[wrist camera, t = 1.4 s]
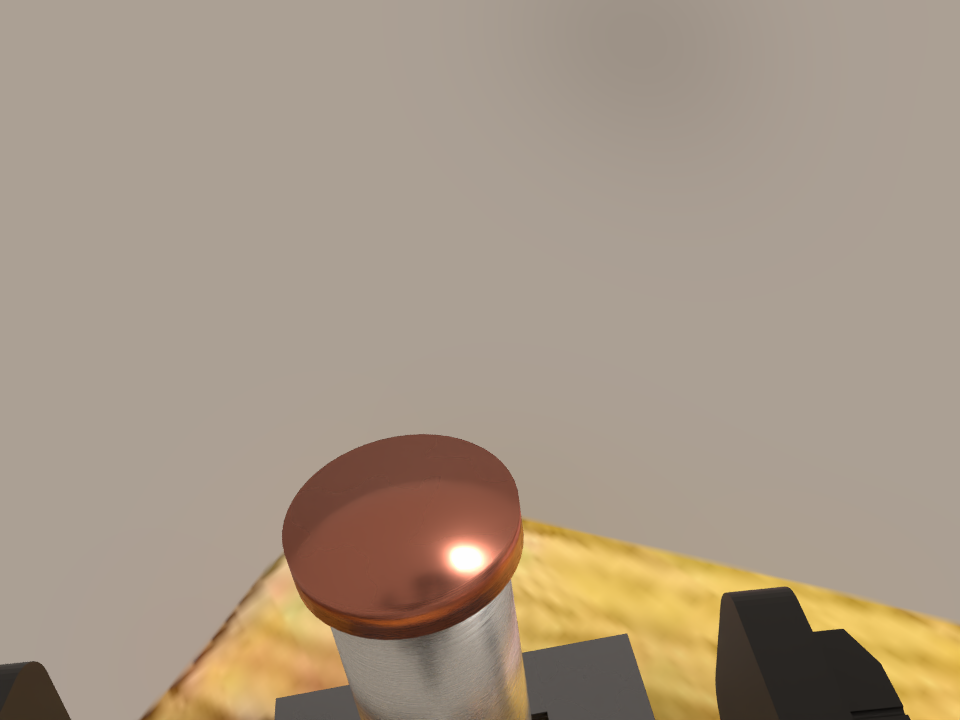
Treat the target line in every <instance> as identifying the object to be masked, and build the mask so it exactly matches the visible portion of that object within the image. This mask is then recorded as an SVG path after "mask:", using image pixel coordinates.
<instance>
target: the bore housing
mask: <svg viewBox="0 0 960 720" xmlns="http://www.w3.org/2000/svg"><path fill="white" fill-rule="evenodd" d="M522 658H523V665H524V671H525V678H526V685H527V692H528V698H529V705H530V712H531V719H532V720H655V718H654V715H653V712H652V709H651V706H650V703H649V700H648V696H647V693H646V690H645V687H644V684H643V681H642V678H641V675H640V672H639V669H638V666H637V662H636V659H635V656H634V653H633V650H632V647H631V644H630V641H629V638H628V635H627V634H622V635H616V636H611V637H606V638H600V639H595V640H589V641H584V642H579V643H573V644H568V645H562V646H557V647H552V648H546V649H541V650H535V651H530V652H525V653H522ZM275 720H361V718H360V715H359V712H358V709H357V706H356V703H355V700H354V697H353V694H352V691H351V688H350V685H346V686H341V687H336V688H330V689H325V690H319V691H314V692H309V693H303V694H298V695H292V696H287V697H282V698H276V706H275Z"/></svg>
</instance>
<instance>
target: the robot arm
mask: <svg viewBox="0 0 960 720" xmlns="http://www.w3.org/2000/svg"><path fill="white" fill-rule="evenodd" d="M715 681H716V695H717V703H718V709H719V715H720V719H721V720H910V718H909V716H908V715H905V713H904V710H903V705H902V703H901V701H900V699H899V697H898V695H897V693H896V691H895V689H894V688H893V686H892V684H891V682H890V680H889V678H888V676H887V674H886V672H885V671H884V669H883V667H882V665H881V663H880V662H879V661H878V660H876V659H875V658H874V657H873V656H872V655H871V654H870V653H869V652H868V651H867V650H866V649H865V648H863V647H862V646H861V645H860V644H859V643H858V642H857V641H856V640H855V639H854V638H853V637H852V636H851V635H849V634H848V633H847V632H846V631H845V630H844V629H836V630H826V631H817V632H813V631H812V629H811V627H810V625H809V623H808V621H807V619H806V616H805V614H804V612H803V610H802V608H801V606H800V604H799V601H798V599H797V598H796V596H795V594H794V593H793V591H792V590H791V589H790V588H788V587H777V588H767V589H758V590H748V591H738V592H728V593H724V594H723V596H722V599H721V607H720V621H719V635H718V648H717V662H716V679H715ZM0 720H71V719H70V717H69V715H68V713H67V711H66V709H65V707H64V705H63V703H62V701H61V699H60V697H59V695H58V693H57V691H56V689H55V687H54V685H53V683H52V681H51V679H50V677H49V675H48V673H47V671H46V669H45V668H44V666H43V665H42V664H40V663H38V662H34V661H32V662H23V663H14V664H5V665H4V664H3V665H0Z"/></svg>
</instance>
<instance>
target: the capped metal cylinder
mask: <svg viewBox="0 0 960 720" xmlns="http://www.w3.org/2000/svg"><path fill="white" fill-rule="evenodd" d="M523 537H524V534H523V527H522V519H521V511H520V504H519V496H518V490H517V487H516V484H515V481H514V479H513V477H512V475H511V474H510V472H509V470H508V469H507V468H506V467H505V466H504V464H503V463H502V462H501V461H500V460H499V459H498V458H496V457H495V456H494V455H493V454H491V453H490V452H488V451H487V450H485V449H484V448H482V447H479V446H477V445H475V444H473V443H470V442H468V441H465V440H462V439H458V438H453V437H449V436H441V435H426V434H419V435H405V436H397V437H391V438H387V439H382V440H379V441H375V442H372V443H369V444H366V445H363V446H361V447H358V448H356V449H354V450H351V451H349V452H347V453H345V454H343V455H341V456H339V457H338V458H336V459H335V460H333V461H331V462H330V463H328V464H327V465H326V466H324V467H323V468H322V469H320V470H319V471H318V472H317V473H315V474H314V475H313V476H312V477H311V478H310V479H309V480H308V481H307V482H306V483H305V484H304V486H303V487H302V488H301V489H300V490H299V492H298V493H297V495H296V496H295V498H294V499H293V501H292V503H291V505H290V507H289V509H288V511H287V514H286V517H285V520H284V525H283V530H282V543H283V549H284V553H285V556H286V559H287V562H288V565H289V568H290V571H291V574H292V577H293V580H294V582H295V585H296V588H297V590H298V593H299V595H300V597H301V599H302V601H303V602H304V604H305V605H306V606H307V608H308V609H309V610H310V611H311V612H312V613H313V614H314V615H315V616H316V617H317V618H319V619H320V620H321V621H323V622H324V623H325V624H327V625H329V626H331V629H332V632H333V636H334V639H335V642H336V645H337V648H338V651H339V654H340V657H341V660H342V663H343V666H344V669H345V672H346V675H347V678H348V681H349V685H350V688H351V691H352V694H353V697H354V700H355V703H356V706H357V709H358V712H359V715H360V718H361V720H532V719H531V712H530V705H529V698H528V692H527V685H526V678H525V671H524V665H523V658H522V651H521V644H520V638H519V631H518V624H517V617H516V611H515V604H514V597H513V590H512V584H511V578H512V576H513V574H514V572H515V571H516V569H517V566H518V563H519V561H520V558H521V554H522V549H523Z"/></svg>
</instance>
